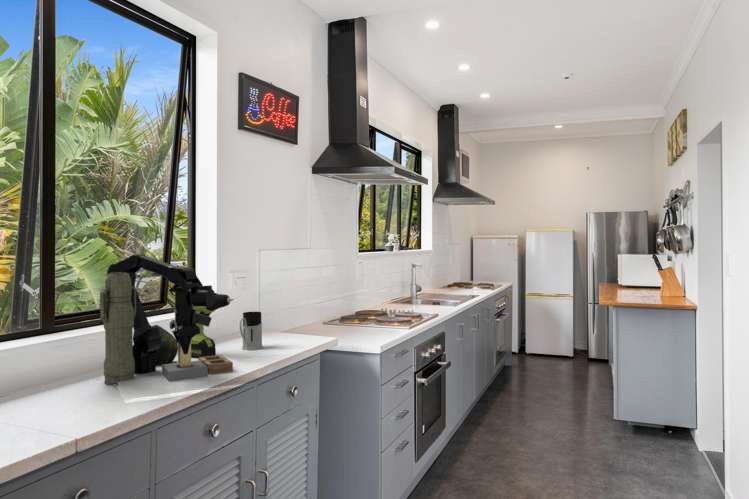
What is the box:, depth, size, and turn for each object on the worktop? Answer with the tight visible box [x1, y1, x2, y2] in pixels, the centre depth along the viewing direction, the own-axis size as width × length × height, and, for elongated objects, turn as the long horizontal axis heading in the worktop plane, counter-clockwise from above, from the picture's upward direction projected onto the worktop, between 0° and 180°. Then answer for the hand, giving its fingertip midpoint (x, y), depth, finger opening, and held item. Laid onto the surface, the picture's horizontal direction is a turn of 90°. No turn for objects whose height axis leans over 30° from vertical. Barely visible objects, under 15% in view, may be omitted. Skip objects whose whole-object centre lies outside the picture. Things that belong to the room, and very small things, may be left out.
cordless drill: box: [191, 292, 235, 359], centre depth 213 cm, size 23×7×25 cm, turn 70°
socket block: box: [161, 359, 209, 382], centre depth 180 cm, size 12×12×4 cm
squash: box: [151, 324, 178, 366], centre depth 200 cm, size 14×15×15 cm
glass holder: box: [239, 311, 264, 351], centre depth 227 cm, size 9×14×15 cm, turn 164°
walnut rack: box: [198, 354, 234, 375], centre depth 189 cm, size 14×8×4 cm, turn 30°
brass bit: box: [177, 340, 192, 368], centre depth 180 cm, size 3×3×10 cm
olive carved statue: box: [99, 272, 137, 386], centre depth 175 cm, size 9×12×35 cm
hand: (184, 353), depth 179 cm, fingers closed on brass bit, 3 cm apart
